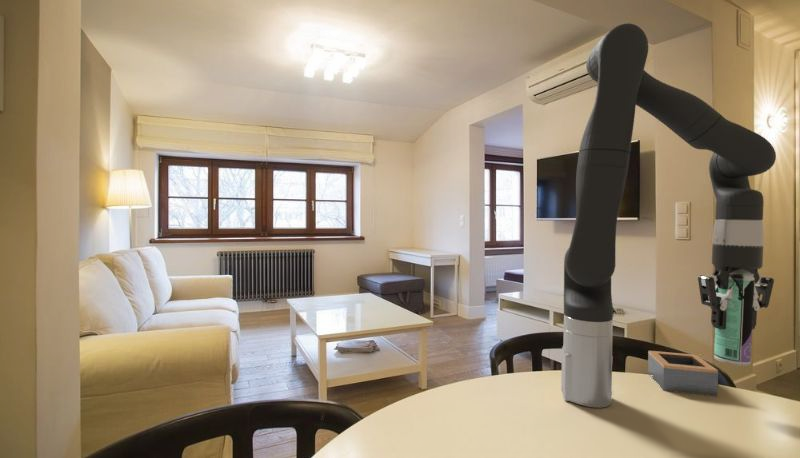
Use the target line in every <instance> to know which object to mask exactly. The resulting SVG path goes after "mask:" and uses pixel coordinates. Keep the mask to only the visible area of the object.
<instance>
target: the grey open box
mask: <svg viewBox="0 0 800 458" xmlns="http://www.w3.org/2000/svg"><path fill="white" fill-rule="evenodd" d="M647 354H648V355H647V356H648V357H647V360H648V361H647V374H648V375H649V376H650V375H653V376H652V377H653V378H654V379H653V378H652V377H651V378H652V379H653V381H654V382H655V381H656V382H657V383H658V384H659V385H660V386H659V385H658V384H657V383H656V382H655V383H656V384H657V385H658V386H659V388H661V390H662V391H665V390H668V391H667V392H673V391H677V392H676V393H682V392H683V394H684V393H685V394H693V395H700V396H701V395H702V396H709V397H718V392H719V391H718V390H719V389H718V388H719V387H718V386H719V385H718V384H719V382H718V381H719V369H717V368H715V366H713V365H711V364H710V363H708V362H707V361H706V360H705V359H703V358H701V356H700V355H697V354H691V353H690V354H689V353H679V352H669V351H668V352H667V351H658V350H648V351H647Z"/></svg>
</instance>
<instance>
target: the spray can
mask: <svg viewBox="0 0 800 458" xmlns="http://www.w3.org/2000/svg"><path fill="white" fill-rule="evenodd" d="M753 276H754V274H753V273H751V272H749V271H747V270H745V269H738V270H735V271H733V272H732V273H730V276H729V284H728V289H729V287H731V286H732V285H733V284H734V283H735V282H736V284H735V285H734V286H733V299H732V300H729V301H728V305H727V308H726V310H724V311H727V312H726V328H725V329H718V328H715V327H714V350H713V351H714V353H713V359H715V360H716V361H719V362H721V363H724V364H728V365H732V366H740V367H748V366H751V364H752V344H753V343H752V341H753V330H752V323H753V301H754V279H755V278H754V277H753ZM728 289H726V290H725V289H722V288H721V289H720V288H719V287H718V293H721V294H726V293H727V291H728ZM721 299H722V298H719V301H718V303H720V302H721Z"/></svg>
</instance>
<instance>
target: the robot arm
mask: <svg viewBox="0 0 800 458" xmlns="http://www.w3.org/2000/svg"><path fill="white" fill-rule="evenodd" d="M648 54H649V41H648V38H647V34H646V32H644V30H643V29H642V28H641V27H640V26H638V25H636V24H634V23H630V22H629V23H620V24H619V25H616V26H615V27H612V28H611V29H610V30H608V31H607V32H606V33H605V34H604V35H603V36H602V37H601V38H600V39H599V40H598V42H597V43H596V44H595V46H594V47H593V49H591V51H590V52H589V54H588V56H587V59H586V64H585V65H586V72H587V73H588V75H589V76H590V77H591V79H592V80H593V81H594V82H596V83H597V87H596V88H597V89H596V95H595V99H594V100H595V101H594V104H593V107H592V109H591V113H590V115H589V118H588V120H587V123H586V126H585V129H584V131H583V134H582V138H581V140H580V146H579V151H578V156H577V157H578V158H577V163H576V164H577V165H576V177H575V198H576V199H575V200H576V201H575V202H576V214H575V222H574V227H573V232H572V236H571V240H570V244H569V247H568V249H567V250H566V252H565V255H564V262H563V263H564V264H563V342H562V344H563V346H561V377H560V378H561V382H560V383H561V385H560V388H561V392H562V395H563V398H564V401H565V402H567V401H568V402H571V403H574V404H577V405H580V406H583V407H589V408H599V409H600V408H607V407H608V406H610V405H611V404H612V395H613V390H612V389H613V388H612V387H613V386H612V385H613V327H614V325H613V320H614V319H613V317H614V316H613V315H614V308H613V307H614V306H613V297H612V277H613V275H614V273H615V270H616V239H617V224H618V223H617V222H618V218H619V217H618V216H619V211H620V208H621V205H622V204H621V203H622V199H623V196H624V191H625V186H626V182H627V176H628V170H629V165H630V164H629V163H630V157H631V149H632V148H631V147H632V139H633V133H634V124H635V115H636V106H638V107H639V108H640V109H642V110H643V111H645V112H647V113H648V114H650V115H651V116H653V118H655V119H656V120H658V121H659V122H661V124H663V125H664V126H665V127H667V128H668V129H669V130H671V131H672V132H673V133H674V134H676V135H677V136H678V137H679V138H680V139H682V140H683V141H684V142H686V143H687V144H688V145H689V146H690V147H692V148H694V149H695V150H702V151H703V150H705V151H710V152H713V153H712V155H711V158H710V160H709V165H708V166H709V167H708V171H709V177H710V182H711V186H712V190H713V193H714V196H715V200H716V201H715V213H714V216H715V219H714V225H713V229H712V244H711V246H712V249H711V264H712V265H713V267H714V270H713V272H712V274H709V275H700V274H699V275H698V276H697V281H698V289H699V296H700V302H701V304H702V305H705V306H707V307H709V308H710V309H711V315H710V316H711V318H710V322H711V325H712V327H713V328H714V329H715V328H718V329H725V328H726V312H727V311H724V310H726V308H727V305H728V301H729V300H732V299H733V286H734V285H735V284H736V282H735V283H734V284H733V285H732V286H731V287H729V289H728V284H729V276H730V273H732V272H733V271H735V270H738V269H745V270H747V271H749V272H751V273H753V274H754V276H753V277H754V278H755V279H754V301H753V323H752V331H753V330H755V328H756V326H757V315H758V311H759V310H760V309H762V308H766V309H767V308H768V307H769V305H770V300H771V297H772V296H771V295H772V291H773V287H774V282H775V279H774V278H772V277H768V276H760V273H759V271H758V270H760V269H762V268H763V266H764V265H763V264H764V263H763V262H764V244H765V242H764V240H765V229H764V221H763V220H764V195H763V193H762V192H761V191H759V190H756V189H752V188H751V185H750V180H749V177H752V176H753V177H754V176H757V175H762V174H763V173H765V172H768V171H770V169H771V168H773V166H774V165H775V162H776V160H777V159H776V158H777V155H776V153H777V152H776V151H775V147H773V144H772V143H771V142H770V141H769V140H768V139H766V138H765V136H764V137H763V136H762V135H761V134H759V133H757V132H755V131H753V130H750V129H749V128H748V127H747V128H746V127H745V126H742V125H740V124H738V123H736V122H733V121H731V120H728V119H727V118H725V117H724V116H723V115H722V114H720V112H718V111H717V110H716V109H715V108H714V107H712V106H711V105H710V104H708V103H707V102H705V100H703V99H701V98H700V97H698V96H696V95H695V94H693V93H691V92H689V91H686V90H684V89H680V88H678V87H675V86H672V85H670V84H667V83H665V82H663V81H661V80H658V79H657V78H655V77H654V76H652V74H649V73H648V72H647V71H646V70H645V68H646V63H647V59H648ZM718 287H719V288H720V289H721V288H722V289H725V290H726V289H728V291H727V293H726V294H721V293H718ZM760 297H761V300H760ZM719 298H722V299H721V302H720V303H718V301H719Z"/></svg>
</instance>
